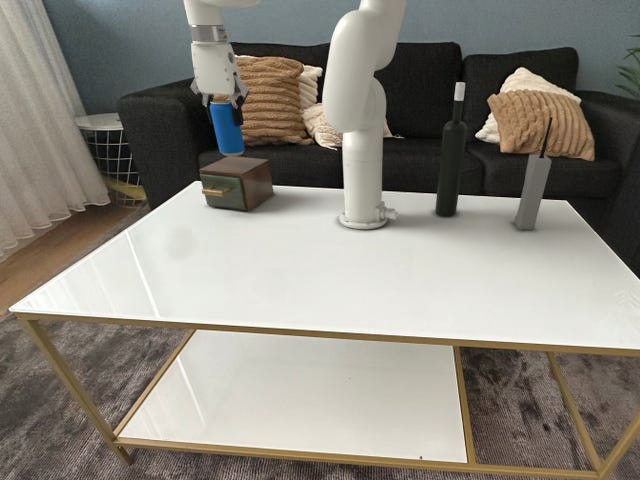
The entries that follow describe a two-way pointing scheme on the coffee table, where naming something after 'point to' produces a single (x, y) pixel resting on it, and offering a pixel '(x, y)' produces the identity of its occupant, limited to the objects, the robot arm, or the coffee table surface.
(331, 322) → the coffee table surface
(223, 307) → the coffee table surface
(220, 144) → the beverage can
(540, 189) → the vintage mobile phone
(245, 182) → the cabinet
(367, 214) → the robot arm
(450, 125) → the wine bottle
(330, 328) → the coffee table surface
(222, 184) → the drawer
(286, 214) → the coffee table surface
